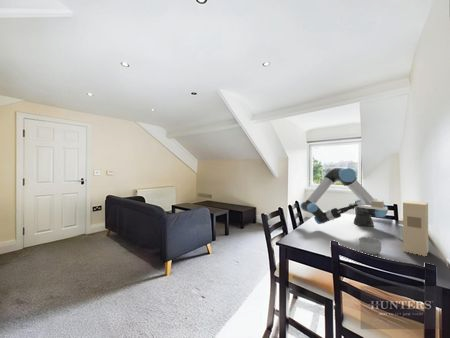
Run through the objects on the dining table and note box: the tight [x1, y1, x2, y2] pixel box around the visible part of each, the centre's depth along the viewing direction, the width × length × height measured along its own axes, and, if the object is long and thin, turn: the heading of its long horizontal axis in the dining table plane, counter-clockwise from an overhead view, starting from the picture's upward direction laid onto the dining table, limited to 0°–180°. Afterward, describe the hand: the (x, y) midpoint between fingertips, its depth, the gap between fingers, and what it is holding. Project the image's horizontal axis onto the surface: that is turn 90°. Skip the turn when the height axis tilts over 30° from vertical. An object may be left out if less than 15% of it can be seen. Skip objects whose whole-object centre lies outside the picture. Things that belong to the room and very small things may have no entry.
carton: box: [402, 200, 429, 257], centre depth 121 cm, size 12×10×30 cm
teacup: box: [359, 236, 382, 256], centre depth 121 cm, size 14×11×8 cm
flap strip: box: [348, 200, 387, 211], centre depth 141 cm, size 4×22×6 cm, turn 40°
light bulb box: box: [397, 223, 403, 242], centre depth 139 cm, size 11×7×11 cm, turn 168°
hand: (363, 202), depth 143 cm, fingers closed on flap strip, 4 cm apart
